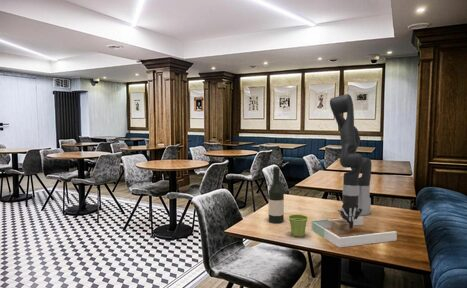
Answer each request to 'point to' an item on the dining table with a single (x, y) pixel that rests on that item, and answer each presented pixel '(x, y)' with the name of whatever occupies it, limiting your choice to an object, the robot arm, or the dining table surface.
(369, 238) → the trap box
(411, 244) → the dining table surface
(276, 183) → the wine bottle
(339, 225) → the walnut block
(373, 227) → the dining table surface
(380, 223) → the dining table surface
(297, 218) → the plant pot
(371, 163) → the robot arm
